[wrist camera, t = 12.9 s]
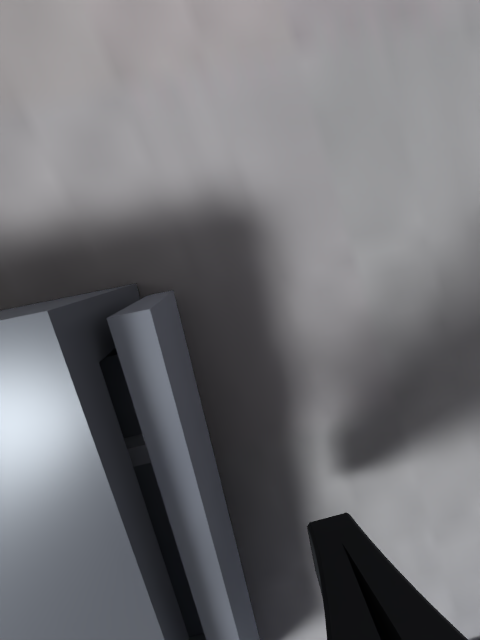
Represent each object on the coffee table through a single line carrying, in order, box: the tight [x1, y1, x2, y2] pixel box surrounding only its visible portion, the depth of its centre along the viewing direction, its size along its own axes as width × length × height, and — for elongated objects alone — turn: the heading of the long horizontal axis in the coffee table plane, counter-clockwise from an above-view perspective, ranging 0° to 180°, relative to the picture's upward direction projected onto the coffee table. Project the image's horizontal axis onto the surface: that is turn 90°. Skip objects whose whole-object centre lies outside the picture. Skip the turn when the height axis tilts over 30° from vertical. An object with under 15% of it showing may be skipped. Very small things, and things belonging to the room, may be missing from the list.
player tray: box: [99, 290, 260, 640], centre depth 8 cm, size 13×17×3 cm
